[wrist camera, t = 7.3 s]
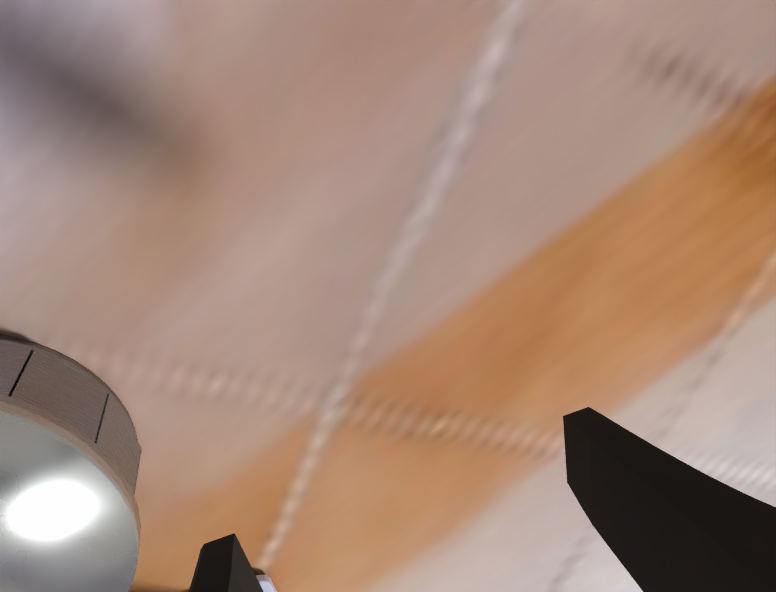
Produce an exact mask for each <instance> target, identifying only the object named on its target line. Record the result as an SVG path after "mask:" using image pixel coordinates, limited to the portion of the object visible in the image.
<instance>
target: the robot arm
mask: <svg viewBox="0 0 776 592" xmlns="http://www.w3.org/2000/svg"><path fill="white" fill-rule="evenodd" d="M563 421H564V437H565V453H566V469H567V483H568V484H569V486H570V488H571V489H572V491H573V493H574V495H575V496H576V498H577V500H578V502H579V503H580V505H581V507H582V508H583V510H584V512H585V513H586V515H587V516H588V518H589V520H590V521H591V523H592V525H593V526H594V527H595V529H596V530H597V531H598V533H599V534H600V535H601V537H602V538H603V539H604V541H605V542H606V543H607V545H608V546H609V547H610V549H611V550H612V551H613V553H614V554H615V555H616V557H617V558H618V559H619V560H620V562H621V563H622V564H623V566H624V567H625V568H626V570H627V571H628V572H629V573H630V575H631V576H632V577H633V579H634V580H635V581H636V583H637V584H638V585H639V587H640V588H641V589H642V590H643V592H776V507H773V506H771V505H769V504H766V503H764V502H762V501H759V500H757V499H755V498H753V497H751V496H748V495H746V494H744V493H742V492H740V491H738V490H736V489H734V488H732V487H730V486H728V485H726V484H724V483H722V482H720V481H718V480H716V479H714V478H712V477H710V476H708V475H706V474H704V473H702V472H700V471H698V470H697V469H695V468H693V467H691V466H689V465H687V464H686V463H684V462H682V461H680V460H678V459H677V458H675V457H673V456H671V455H669V454H668V453H666V452H664V451H662V450H660V449H659V448H657V447H655V446H654V445H652V444H650V443H648V442H647V441H645V440H643V439H642V438H640V437H638V436H637V435H635V434H633V433H631V432H630V431H628V430H626V429H625V428H623V427H621V426H620V425H618V424H617V423H615V422H613V421H612V420H610V419H608V418H607V417H605V416H603V415H602V414H600V413H598V412H597V411H595V410H593V409H591V408H590V407H587V408H585V409H582V410H579V411H576V412H573V413H571V414H568V415H565V416H563ZM189 592H277V591H276V589H275V587H274V585H273V583H272V581H271V579H270V578H269V576H266V575H257V576H256V575H255V573H254V571H253V569H252V567H251V565H250V563H249V561H248V559H247V557H246V555H245V553H244V551H243V549H242V547H241V545H240V543H239V541H238V539H237V537H236V535H235V533H234V534H231V535H228V536H226V537H223V538H220V539H217V540H214V541H212V542H209V543H206V544H204V546H203V547H202V549H201V551H200V554H199V558H198V562H197V566H196V569H195V573H194V576H193V579H192V583H191V586H190V590H189Z"/></svg>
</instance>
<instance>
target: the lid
mask: <svg viewBox="0 0 776 592" xmlns="http://www.w3.org/2000/svg"><path fill="white" fill-rule="evenodd" d="M140 531H141V523H140V517H139V510H138V506H137V503H136V500H135V497H134V494H133V491H132V489H131V487H130V485H129V484H128V482H127V480H126V478H125V477H124V475H123V473H122V472H121V470H120V469H119V468H118V467H117V465H116V464H115V463H114V462H113V460H112V459H111V458H110V457H109V455H108V454H106V453H105V452H104V451H103V450H102V449H101V448H100V447H99V446H98V445H97V444H96V443H95V442H94V441H92V440H91V439H90V438H89V437H87V436H86V435H84V434H83V433H82V432H80V431H79V430H77V429H76V428H75V427H73V426H72V425H70V424H69V423H67V422H65V421H63V420H61V419H60V418H58V417H56V416H54V415H52V414H50V413H49V412H47V411H45V410H42V409H40V408H38V407H35V406H33V405H30V404H28V403H26V402H23V401H21V400H18V399H16V398H12V397H9V396H6V395H2V394H0V592H128V591H129V589H130V587H131V584H132V582H133V579H134V575H135V571H136V567H137V561H138V554H139V546H140Z"/></svg>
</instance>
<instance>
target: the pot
mask: <svg viewBox="0 0 776 592" xmlns="http://www.w3.org/2000/svg"><path fill="white" fill-rule="evenodd" d="M0 394H2V395H6V396H9V397H12V398H16V399H18V400H21V401H23V402H26V403H28V404H30V405H33V406H35V407H38V408H40V409H42V410H45V411H47V412H49V413H50V414H52V415H54V416H56V417H58V418H60V419H61V420H63V421H65V422H67V423H69V424H70V425H72V426H73V427H75V428H76V429H77V430H79V431H80V432H82V433H83V434H84V435H86V436H87V437H89V438H90V439H91V440H92V441H94V442H95V443H96V444H97V445H98V446H99V447H100V448H101V449H102V450H103V451H104V452H105V453H106V454H108V455H109V457H110V458H111V459H112V460H113V462H114V463H115V464H116V465H117V467H118V468H119V469H120V470H121V472H122V473H123V475H124V477H125V478H126V480H127V482H128V484H129V485H130V487H131V489H132V491H133V494H134V493H135V487H136V480H137V474H138V468H139V461H140V455H141V447H140V445H139V443H138V439H137V435H136V431H135V427H134V425H133V422H132V420H131V418H130V416H129V413H128V411H127V410H126V408H125V407H124V405H123V404H122V402H121V401H120V399H119V398H118V397H117V396H116V394H115V393H114V392H113V391H112V390H111V389H110V388H109V387H108V385H107V384H105V383H104V382H103V381H102V380H101V379H100V378H98V377H97V376H96V375H95V374H94V373H93V372H91V371H90V370H88V369H87V368H85V367H84V366H82V365H81V364H79V363H78V362H76V361H74V360H72V359H70V358H68V357H66V356H64V355H62V354H61V353H59V352H57V351H54V350H51V349H49V348H46V347H44V346H41V345H38V344H36V343H32V342H29V341H25V340H21V339H18V338H14V337H9V336H3V335H0Z"/></svg>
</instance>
